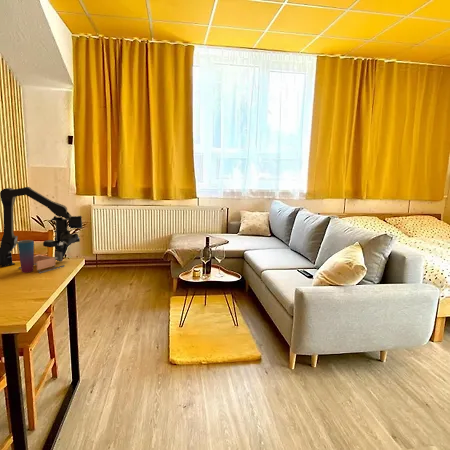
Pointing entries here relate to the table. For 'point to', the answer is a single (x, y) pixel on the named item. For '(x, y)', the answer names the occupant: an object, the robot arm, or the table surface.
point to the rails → (49, 269)
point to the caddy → (47, 260)
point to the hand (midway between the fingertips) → (62, 256)
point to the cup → (26, 255)
